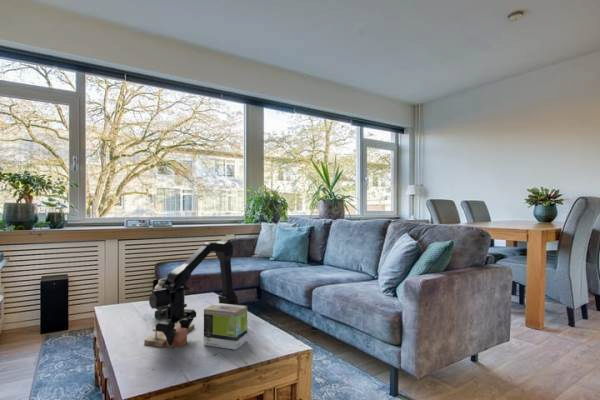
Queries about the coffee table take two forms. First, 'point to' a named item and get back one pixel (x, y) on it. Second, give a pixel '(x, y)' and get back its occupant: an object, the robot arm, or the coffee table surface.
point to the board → (162, 337)
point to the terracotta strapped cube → (177, 337)
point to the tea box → (225, 325)
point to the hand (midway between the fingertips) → (176, 341)
